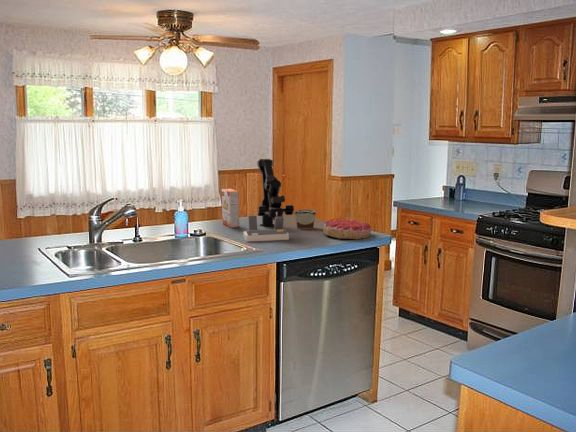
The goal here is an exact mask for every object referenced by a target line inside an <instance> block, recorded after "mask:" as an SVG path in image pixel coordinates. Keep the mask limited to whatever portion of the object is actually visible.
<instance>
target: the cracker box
mask: <svg viewBox="0 0 576 432" xmlns="http://www.w3.org/2000/svg"><path fill="white" fill-rule="evenodd" d="M239 199H240V197H239V191H238V190H235V189H233V188H222V189H221V206H222V207H221V208H222V209H221V210H222V224H223V225H225V226H227V227H229V228H231V229H233V228H240V200H239Z"/></svg>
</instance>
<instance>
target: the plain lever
mask: <svg viewBox="0 0 576 432" xmlns="http://www.w3.org/2000/svg"><path fill="white" fill-rule="evenodd" d="M257 216H258V215H249V216H248V230H258V220H257Z"/></svg>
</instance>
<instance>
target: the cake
mask: <svg viewBox="0 0 576 432" xmlns="http://www.w3.org/2000/svg"><path fill="white" fill-rule="evenodd" d="M322 229H323V231H322V232H323V233H324V234H325V235H326V236H329V237H332V238H336V239H338V240H341V239H344V240H346V239H347V240H361V239H367V238H368V237H370V236H371V232H372V227H371V225H370V223H366V222H363V221H359V220H354V219H346V218H345V219H344V218H343V219H341V218H332V219H330V220H327V221H326V222H324V224H323V228H322Z"/></svg>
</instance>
